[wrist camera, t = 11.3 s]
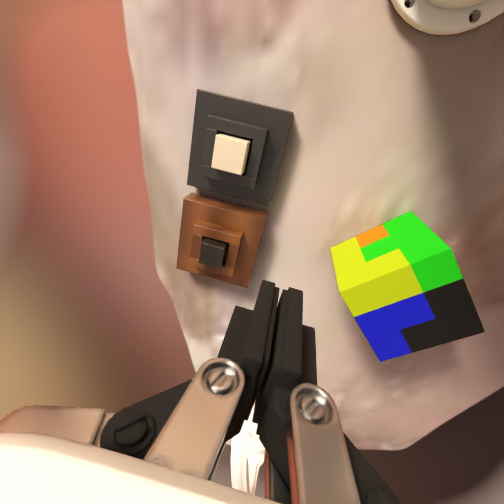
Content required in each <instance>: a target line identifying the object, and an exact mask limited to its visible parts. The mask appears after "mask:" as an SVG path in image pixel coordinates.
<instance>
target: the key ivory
mask: <svg viewBox="0 0 504 504" xmlns="http://www.w3.org/2000/svg"><path fill="white" fill-rule="evenodd" d="M249 146H250V141H248V140H244V139H240V138H236V137H232V136H228V135H224V134H218V135H216V138H215V145H214V152H213V159H212V166H211V167H212V168H215V169H218V170H222V171H226V172H230V173H234V174H238V175H242V174H243V173H244V171H245V166H246V161H247V156H248V151H249Z"/></svg>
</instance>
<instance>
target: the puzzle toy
mask: <svg viewBox="0 0 504 504" xmlns="http://www.w3.org/2000/svg"><path fill="white" fill-rule="evenodd" d="M330 249H331V254H332V259H333V264H334V269H335V274H336V279H337V284H338V289H339V293H340V295H341V296H342V298H343V300H344V301H345V303H346V305H347V306H348V308H349V310H350V311H351V313H352V315H353V317H354V318H355V320H356V322H357V323H358V325H359V327H360V328H361V330H362V332H363V333H364V335H365V337H366V338H367V340H368V342H369V344H370V345H371V347H372V349H373V350H374V352H375V354H376V355H377V357H378V359H379V360H380V362H381V361H385V360H388V359H392V358H395V357H399V356H402V355H406V354H409V353H413V352H416V351H420V350H423V349H427V348H430V347H434V346H437V345H441V344H444V343H448V342H451V341H455V340H458V339H462V338H465V337H469V336H472V335H476V334H479V333H483V332H485V331H484V328H483V326H482V323H481V321H480V318H479V316H478V314H477V311H476V309H475V306H474V304H473V301H472V299H471V296H470V294H469V291H468V289H467V287H466V284H465V282H464V279H463V277H462V274H461V272H460V269H459V267H458V264H457V262H456V259H455V257H454V255H453V252H452V250H451V248H450V247H449V246H448V245H447V244H446V243H445V242H444V241H443V240H441V239H440V238H439V237H438V236H437V235H436V234H435V233H434V232H433V231H432V230H431V229H430V228H429V227H427V226H426V225H425V224H424V223H423V222H422V221H421V220H420V219H419V218H418V217H417V216H416V215H415V214H413V213H412V212H411V211H410V212H408V213H405V214H403V215H401V216H399V217H397V218H395V219H392V220H390V221H388V222H386V223H384V224H382V225H379V226H377V227H375V228H373V229H371V230H369V231H366V232H364V233H362V234H360V235H358V236H356V237H353V238H351V239H349V240H347V241H345V242H343V243H340V244H338V245H336V246H334V247H332V248H330Z"/></svg>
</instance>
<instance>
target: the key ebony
mask: <svg viewBox="0 0 504 504" xmlns="http://www.w3.org/2000/svg"><path fill="white" fill-rule="evenodd" d="M226 249H227V243H223V242H220V241H216V240H212V239H209V238H205V239H204V240H203V241H202V243H201V248H200V255H199V263H201V264H204V265H208V266H212V267H215V268H219V269H221V267H222V265H223V263H224V259H225V254H226Z"/></svg>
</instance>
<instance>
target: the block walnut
mask: <svg viewBox="0 0 504 504" xmlns="http://www.w3.org/2000/svg"><path fill="white" fill-rule="evenodd" d="M267 213H268V212H264V211H261V210H257V209H253V208H249V207H245V206H242V205H238V204H234V203H230V202H226V201H223V200H219V199H215V198H211V197H207V196H204V195H200V194H196V193H190V194H189V195H188V196H186V197H185V198H184V200H183V210H182V220H181V229H180V239H179V248H178V258H177V267H176V268H177V269H181V270H184V271H188V272H192V273H195V274H199V275H203V276H206V277H210V278H213V279H217V280H221V281H224V282H228V283H232V284H235V285H239V286H242V287H246V288H248V285H249V282H250V279H251V275H252V272H253V268H254V264H255V260H256V256H257V252H258V248H259V244H260V241H261V237H262V233H263V229H264V225H265V221H266V217H267ZM205 238H209V239H212V240H216V241H220V242H223V243H227V249H226V254H225V259H224V263H223V265H222V267H221V269H219V268H215V267H212V266H208V265H204V264H201V263H199V255H200V248H201V243H202V241H203V240H204V239H205Z"/></svg>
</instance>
